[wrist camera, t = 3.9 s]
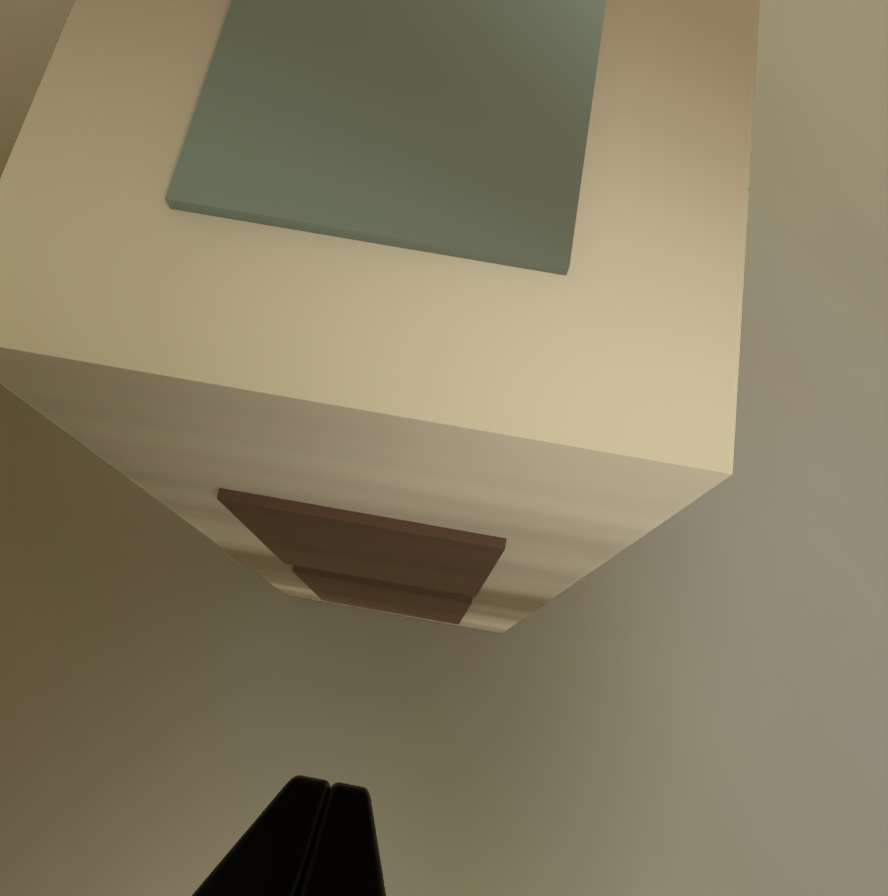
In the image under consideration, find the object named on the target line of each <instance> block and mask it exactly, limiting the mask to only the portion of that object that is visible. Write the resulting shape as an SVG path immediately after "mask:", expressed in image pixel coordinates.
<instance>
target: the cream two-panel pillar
mask: <svg viewBox="0 0 888 896" xmlns="http://www.w3.org/2000/svg"><path fill="white" fill-rule="evenodd" d="M759 3H760V0H75V1H74V4H73V6H72V8H71V11H70V13H69V16H68V18H67V20H66V23H65V25H64V28H63V30H62V32H61V35H60V37H59V39H58V42H57V44H56V47H55V49H54V51H53V54H52V56H51V59H50V61H49V63H48V66H47V68H46V71H45V73H44V75H43V78H42V80H41V82H40V85H39V87H38V90H37V92H36V94H35V97H34V99H33V102H32V104H31V106H30V109H29V111H28V114H27V116H26V118H25V121H24V123H23V125H22V128H21V130H20V133H19V135H18V137H17V140H16V142H15V145H14V147H13V149H12V152H11V154H10V157H9V159H8V161H7V164H6V166H5V168H4V171H3V173H2V176H1V178H0V384H1V385H2V386H3V387H5V388H6V389H7V390H9V391H10V392H12V393H13V394H14V395H16V396H17V397H18V398H20V399H21V400H22V401H24V402H25V403H26V404H28V405H29V406H30V407H32V408H33V409H35V410H36V411H37V412H39V413H40V414H41V415H43V416H44V417H45V418H47V419H48V420H49V421H51V422H52V423H54V424H55V425H56V426H58V427H59V428H60V429H62V430H63V431H64V432H66V433H67V434H68V435H70V436H71V437H72V438H74V439H75V440H77V441H78V442H79V443H81V444H82V445H83V446H85V447H86V448H87V449H89V450H90V451H91V452H93V453H94V454H96V455H97V456H98V457H100V458H101V459H102V460H104V461H105V462H106V463H108V464H109V465H110V466H112V467H113V468H114V469H116V470H117V471H119V472H120V473H121V474H123V475H124V476H125V477H127V478H128V479H129V480H131V481H132V482H133V483H135V484H136V485H138V486H139V487H140V488H142V489H143V490H144V491H146V492H147V493H148V494H150V495H151V496H152V497H154V498H155V499H156V500H158V501H159V502H161V503H162V504H163V505H165V506H166V507H167V508H169V509H170V510H171V511H173V512H174V513H175V514H177V515H178V516H180V517H181V518H182V519H184V520H185V521H186V522H188V523H189V524H190V525H192V526H193V527H194V528H196V529H197V530H198V531H200V532H201V533H203V534H204V535H205V536H207V537H208V538H209V539H211V540H212V541H213V542H215V543H216V544H217V545H219V546H220V547H222V548H223V549H224V550H226V551H227V552H228V553H230V554H231V555H232V556H234V557H235V558H236V559H238V560H239V561H240V562H242V563H243V564H245V565H246V566H247V567H249V568H250V569H251V570H253V571H254V572H255V573H257V574H258V575H259V576H261V577H262V578H264V579H265V580H266V581H268V582H269V583H270V584H272V585H273V586H274V587H276V588H277V589H278V590H280V591H281V592H282V593H284V594H285V595H289V596H294V597H300V598H305V599H311V600H317V601H322V602H328V603H333V604H339V605H345V606H350V607H356V608H361V609H367V610H372V611H378V612H384V613H389V614H395V615H400V616H406V617H412V618H417V619H423V620H428V621H434V622H439V623H445V624H451V625H456V626H462V627H467V628H473V629H479V630H484V631H490V632H495V633H501V634H502V633H503V632H505V631H506V630H508V629H509V628H511V627H512V626H514V625H515V624H516V623H518V622H519V621H521V620H522V619H524V618H525V617H527V616H528V615H530V614H531V613H532V612H534V611H535V610H537V609H538V608H540V607H541V606H543V605H544V604H545V603H547V602H548V601H550V600H551V599H553V598H554V597H556V596H557V595H558V594H560V593H561V592H563V591H564V590H566V589H567V588H569V587H570V586H571V585H573V584H574V583H576V582H577V581H579V580H580V579H582V578H583V577H585V576H586V575H587V574H589V573H590V572H592V571H593V570H595V569H596V568H598V567H599V566H600V565H602V564H603V563H605V562H606V561H608V560H609V559H611V558H612V557H613V556H615V555H616V554H618V553H619V552H621V551H622V550H624V549H625V548H626V547H628V546H629V545H631V544H632V543H634V542H635V541H637V540H638V539H640V538H641V537H642V536H644V535H645V534H647V533H648V532H650V531H651V530H653V529H654V528H655V527H657V526H658V525H660V524H661V523H663V522H664V521H666V520H667V519H668V518H670V517H671V516H673V515H674V514H676V513H677V512H679V511H680V510H681V509H683V508H684V507H686V506H687V505H689V504H690V503H692V502H693V501H695V500H696V499H697V498H699V497H700V496H702V495H703V494H705V493H706V492H708V491H709V490H710V489H712V488H713V487H715V486H716V485H718V484H719V483H721V482H722V481H723V480H725V479H726V478H728V477H729V476H731V475H732V474H733V457H734V440H735V423H736V405H737V388H738V370H739V353H740V335H741V318H742V300H743V283H744V265H745V248H746V230H747V213H748V195H749V178H750V161H751V143H752V126H753V108H754V91H755V73H756V56H757V38H758V21H759Z"/></svg>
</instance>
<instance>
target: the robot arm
mask: <svg viewBox="0 0 888 896" xmlns="http://www.w3.org/2000/svg"><path fill="white" fill-rule="evenodd" d="M192 896H386V892H385V886H384V880H383V873H382V867H381V861H380V855H379V848H378V842H377V836H376V829H375V823H374V817H373V810H372V804H371V798H370V794H369V792H368V790H367V789H366V788H364V787H360V786H355V785H349V784H344V783H335V784H333V785H332V786H331V787H330V783H329V782H328V781H326V780H322V779H317V778H311V777H306V776H295V777H293V778H292V779H291V780H290V781H289V782H288V783H287V784H286V785H285V786H284V787H283V788H282V790H281V791H280V792H279V793H278V794H277V796H276V797H275V798H274V799H273V800H272V801H271V803H270V804H269V805H268V806H267V807H266V809H265V810H264V811H263V812H262V813H261V814H260V816H259V817H258V818H257V819H256V820H255V822H254V823H253V824H252V825H251V826H250V827H249V829H248V830H247V831H246V832H245V833H244V835H243V836H242V837H241V838H240V839H239V840H238V842H237V843H236V844H235V845H234V846H233V848H232V849H231V850H230V851H229V852H228V853H227V855H226V856H225V857H224V858H223V859H222V861H221V862H220V863H219V864H218V865H217V866H216V868H215V869H214V870H213V871H212V872H211V874H210V875H209V876H208V877H207V878H206V879H205V881H204V882H203V883H202V884H201V885H200V887H199V888H198V889H197V890H196V891H195V892H194V894H193V895H192Z"/></svg>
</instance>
